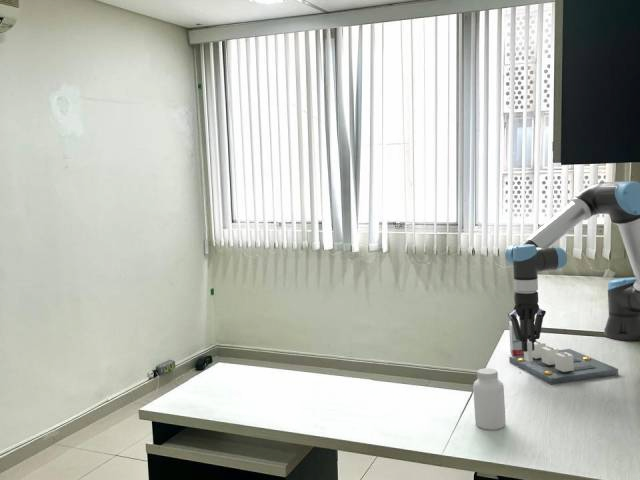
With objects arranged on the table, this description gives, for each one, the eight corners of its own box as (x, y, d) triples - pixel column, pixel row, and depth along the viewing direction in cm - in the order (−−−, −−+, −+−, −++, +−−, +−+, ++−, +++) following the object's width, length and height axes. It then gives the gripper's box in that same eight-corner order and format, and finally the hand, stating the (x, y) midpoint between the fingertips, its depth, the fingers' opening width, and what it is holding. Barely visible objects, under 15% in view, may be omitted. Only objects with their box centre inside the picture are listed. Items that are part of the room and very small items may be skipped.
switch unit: (569, 354, 220) (569, 347, 220) (618, 374, 195) (618, 367, 195) (509, 362, 216) (509, 355, 215) (551, 384, 190) (551, 377, 190)
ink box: (526, 357, 220) (525, 325, 219) (512, 357, 221) (511, 325, 220) (523, 350, 229) (522, 320, 228) (510, 350, 230) (508, 320, 229)
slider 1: (539, 354, 214) (539, 339, 214) (546, 357, 211) (545, 342, 210) (529, 355, 214) (528, 340, 213) (535, 358, 210) (535, 343, 209)
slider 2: (552, 360, 207) (551, 344, 206) (559, 363, 203) (558, 347, 202) (541, 361, 206) (541, 346, 205) (548, 365, 202) (547, 349, 201)
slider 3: (566, 366, 199) (565, 350, 198) (573, 370, 195) (573, 354, 194) (555, 368, 198) (554, 352, 198) (562, 371, 194) (562, 355, 194)
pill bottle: (471, 420, 167) (468, 367, 166) (499, 417, 168) (496, 365, 166) (480, 432, 159) (478, 376, 158) (510, 429, 160) (508, 374, 158)
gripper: (537, 287, 205) (539, 355, 207) (502, 291, 203) (505, 359, 205) (550, 291, 198) (552, 361, 200) (514, 295, 195) (516, 365, 198)
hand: (528, 360), depth 202 cm, fingers closed
